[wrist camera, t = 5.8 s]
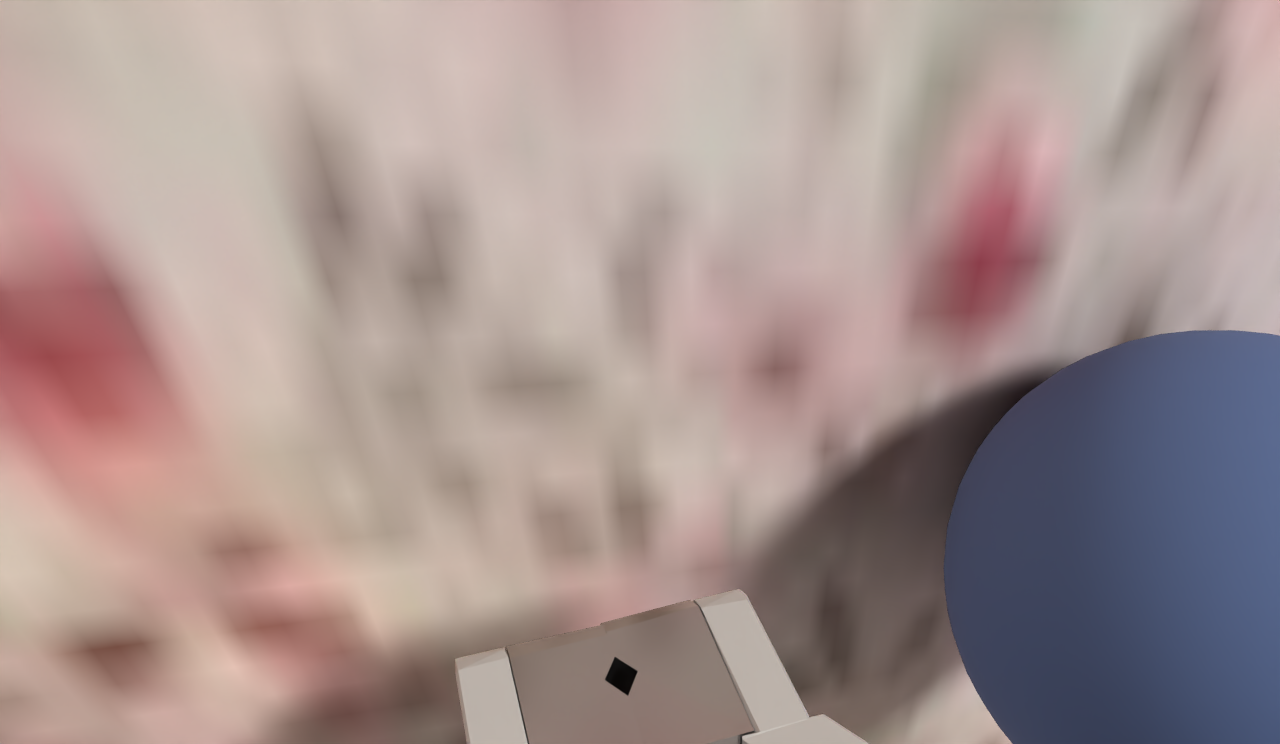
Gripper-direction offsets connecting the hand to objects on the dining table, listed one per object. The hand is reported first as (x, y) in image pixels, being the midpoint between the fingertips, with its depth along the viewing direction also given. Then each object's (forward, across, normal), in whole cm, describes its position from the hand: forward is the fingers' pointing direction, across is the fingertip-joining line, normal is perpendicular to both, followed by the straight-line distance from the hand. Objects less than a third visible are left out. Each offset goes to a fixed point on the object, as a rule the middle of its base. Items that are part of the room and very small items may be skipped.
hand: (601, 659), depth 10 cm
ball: (-1, -7, 0) cm, 7 cm away
